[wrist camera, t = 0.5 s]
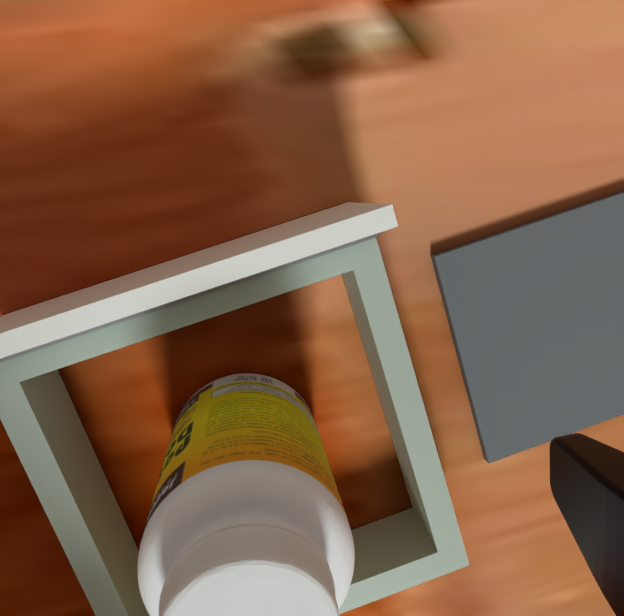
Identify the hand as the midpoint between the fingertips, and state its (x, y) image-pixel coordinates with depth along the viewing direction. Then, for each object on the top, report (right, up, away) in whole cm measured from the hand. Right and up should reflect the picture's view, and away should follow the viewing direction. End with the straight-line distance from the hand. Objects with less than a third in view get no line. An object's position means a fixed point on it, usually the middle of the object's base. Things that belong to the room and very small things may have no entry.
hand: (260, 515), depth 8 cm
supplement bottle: (-2, -2, +14) cm, 14 cm away
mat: (+11, +2, +14) cm, 18 cm away
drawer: (-2, -2, +13) cm, 14 cm away
